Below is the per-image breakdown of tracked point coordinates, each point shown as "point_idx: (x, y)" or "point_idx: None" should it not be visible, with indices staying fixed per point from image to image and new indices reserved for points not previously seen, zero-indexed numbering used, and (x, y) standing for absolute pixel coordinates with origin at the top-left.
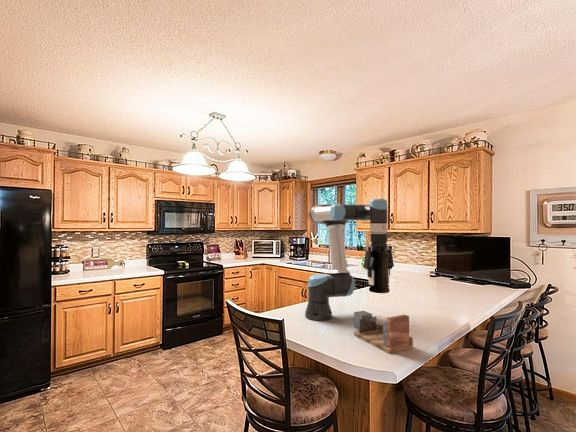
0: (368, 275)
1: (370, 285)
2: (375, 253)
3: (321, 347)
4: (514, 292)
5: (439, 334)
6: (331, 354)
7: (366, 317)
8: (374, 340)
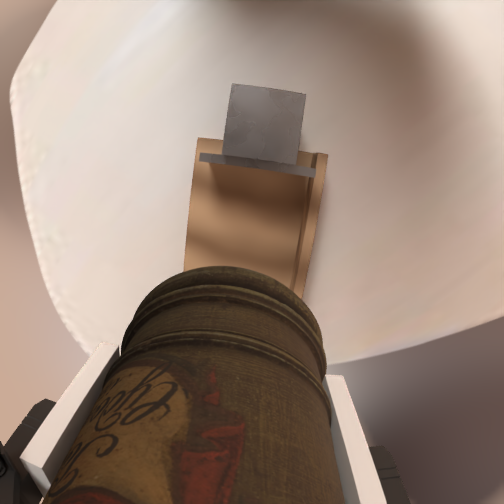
0: (36, 421)
1: (124, 344)
2: None
3: (39, 176)
4: None
5: (456, 312)
6: (38, 233)
7: (254, 159)
8: (199, 253)
